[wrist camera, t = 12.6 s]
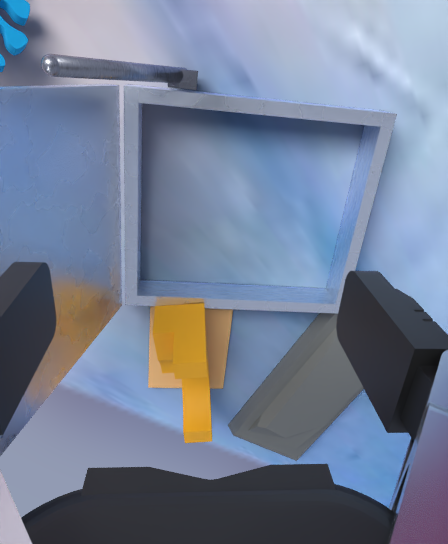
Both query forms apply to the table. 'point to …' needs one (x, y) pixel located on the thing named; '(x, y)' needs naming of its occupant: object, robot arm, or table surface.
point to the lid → (62, 215)
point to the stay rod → (108, 69)
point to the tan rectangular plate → (216, 346)
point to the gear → (13, 39)
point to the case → (240, 295)
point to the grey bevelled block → (300, 393)
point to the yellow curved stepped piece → (186, 363)
